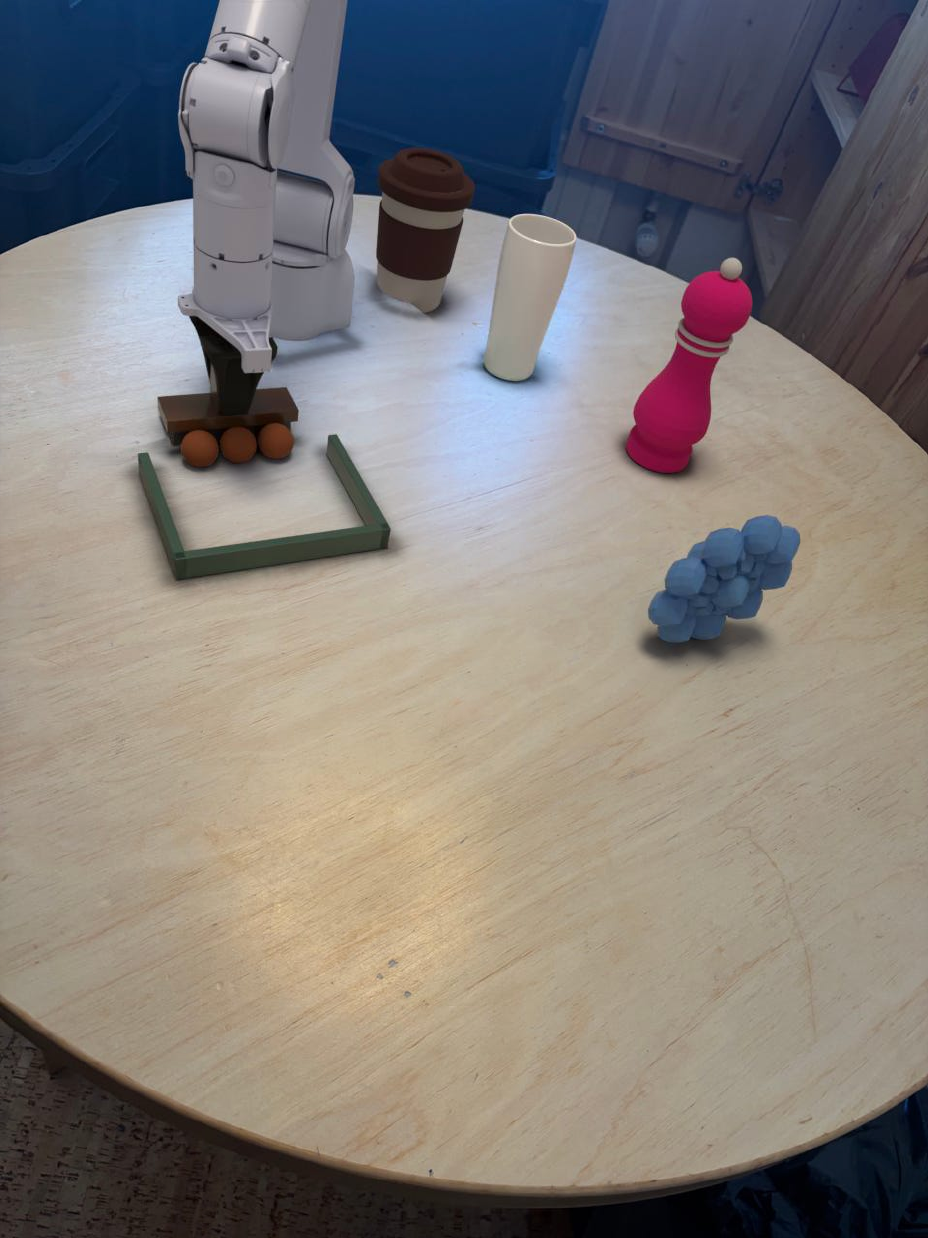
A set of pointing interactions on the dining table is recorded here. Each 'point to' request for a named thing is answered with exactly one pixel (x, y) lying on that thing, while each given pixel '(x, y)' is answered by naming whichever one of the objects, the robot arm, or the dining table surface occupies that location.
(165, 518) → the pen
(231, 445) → the ball middle
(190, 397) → the brush
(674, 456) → the pepper mill
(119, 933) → the dining table surface
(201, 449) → the ball
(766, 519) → the grapes
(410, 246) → the coffee cup
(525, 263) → the drinking glass
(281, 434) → the ball
